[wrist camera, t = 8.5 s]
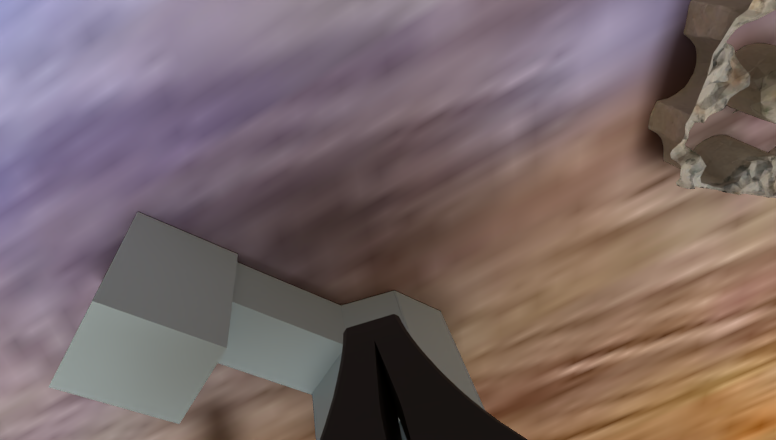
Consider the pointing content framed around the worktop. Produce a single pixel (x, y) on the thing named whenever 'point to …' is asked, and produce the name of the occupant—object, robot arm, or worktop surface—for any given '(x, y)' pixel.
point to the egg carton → (721, 101)
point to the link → (221, 328)
